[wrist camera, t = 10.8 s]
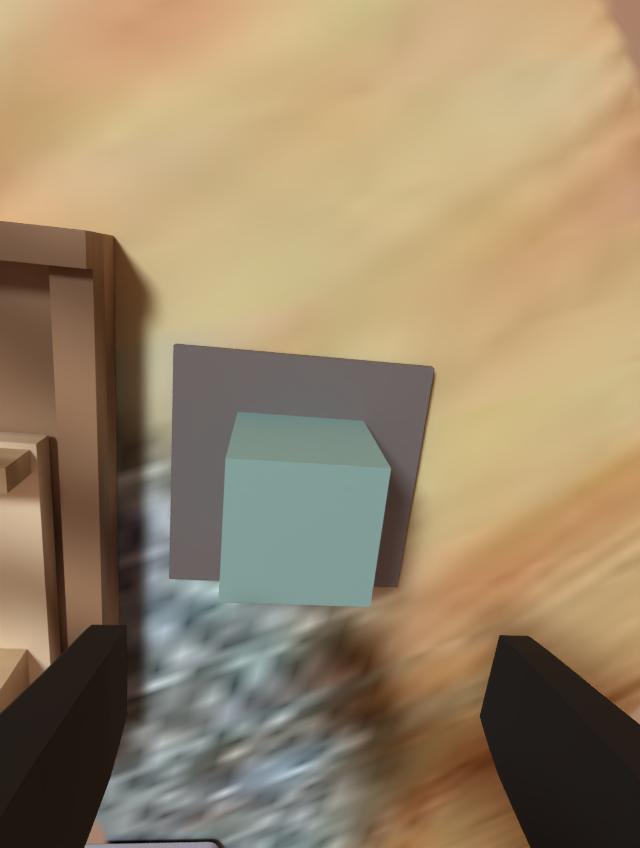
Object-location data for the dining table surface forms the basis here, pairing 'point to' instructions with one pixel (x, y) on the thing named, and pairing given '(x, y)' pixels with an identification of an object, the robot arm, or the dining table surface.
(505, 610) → the dining table surface
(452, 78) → the dining table surface
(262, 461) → the cube
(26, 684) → the strip
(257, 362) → the felt pad
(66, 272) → the lane board
